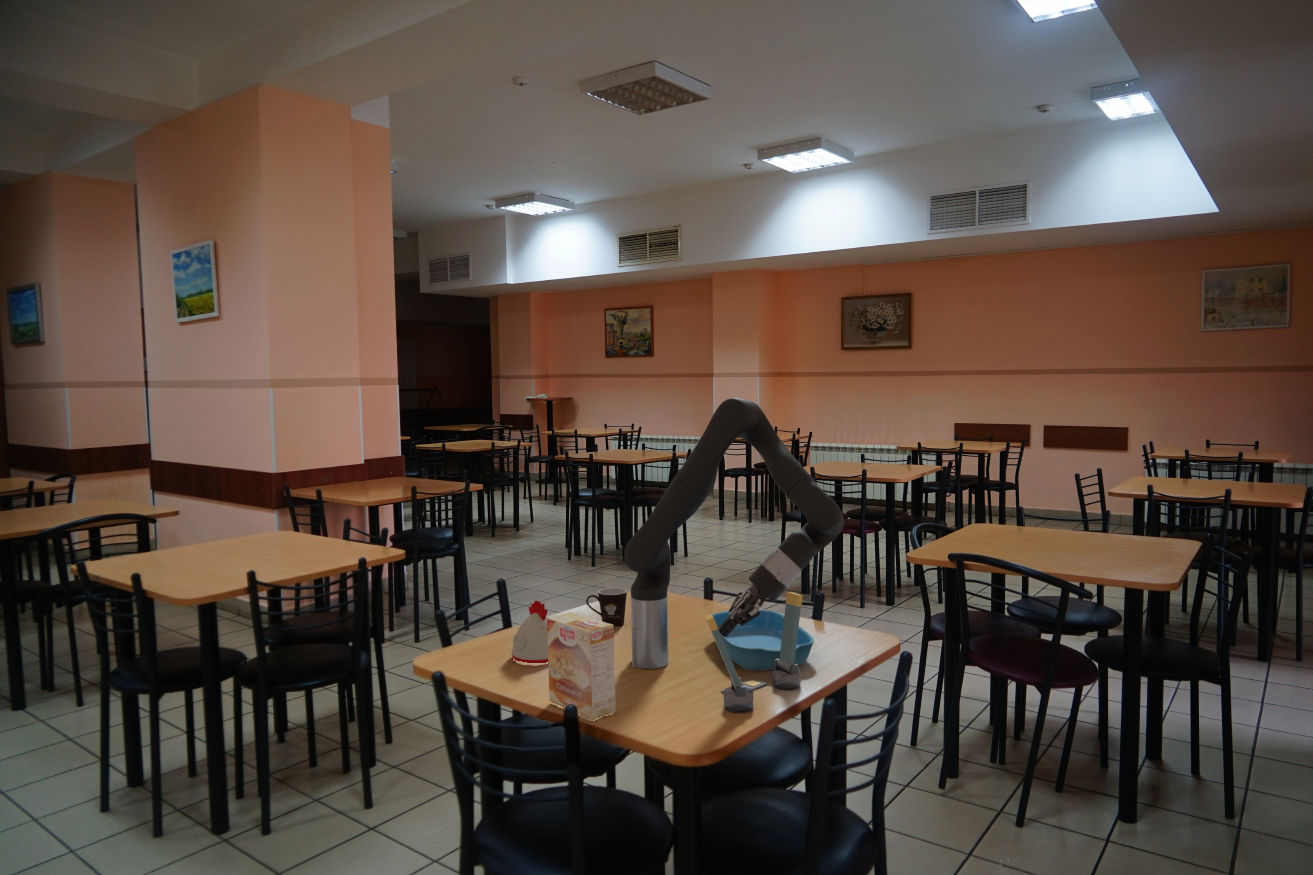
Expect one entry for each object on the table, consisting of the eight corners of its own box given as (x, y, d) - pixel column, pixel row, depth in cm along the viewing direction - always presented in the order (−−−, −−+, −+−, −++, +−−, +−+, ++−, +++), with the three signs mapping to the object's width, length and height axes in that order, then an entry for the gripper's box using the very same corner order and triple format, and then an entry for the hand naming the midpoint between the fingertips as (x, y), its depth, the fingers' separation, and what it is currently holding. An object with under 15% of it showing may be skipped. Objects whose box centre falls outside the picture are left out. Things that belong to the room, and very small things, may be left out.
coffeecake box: (548, 704, 176) (545, 617, 175) (573, 695, 181) (571, 611, 180) (591, 723, 165) (589, 630, 164) (617, 713, 170) (614, 623, 169)
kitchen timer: (529, 670, 199) (527, 611, 198) (502, 656, 209) (500, 600, 209) (575, 657, 208) (574, 601, 207) (547, 645, 218) (546, 591, 218)
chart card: (734, 697, 178) (734, 694, 178) (720, 691, 181) (720, 689, 181) (767, 684, 185) (767, 682, 185) (753, 679, 189) (753, 677, 189)
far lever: (783, 666, 187) (792, 591, 187) (794, 671, 183) (803, 595, 184) (776, 666, 186) (785, 591, 186) (788, 671, 182) (797, 595, 183)
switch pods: (740, 715, 168) (740, 689, 167) (717, 707, 172) (717, 682, 172) (806, 684, 185) (805, 661, 184) (783, 678, 189) (783, 655, 189)
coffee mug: (633, 622, 239) (632, 589, 238) (616, 629, 232) (616, 596, 231) (601, 617, 245) (601, 585, 245) (584, 624, 238) (584, 591, 237)
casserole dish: (827, 672, 194) (827, 643, 193) (739, 680, 189) (739, 651, 189) (773, 629, 230) (773, 605, 229) (699, 636, 225) (698, 611, 225)
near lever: (742, 684, 174) (711, 612, 173) (746, 691, 170) (714, 617, 169) (734, 688, 174) (703, 615, 173) (737, 694, 170) (706, 621, 169)
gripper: (755, 556, 178) (703, 614, 177) (770, 569, 165) (713, 631, 164) (779, 579, 179) (727, 636, 178) (795, 593, 166) (739, 654, 165)
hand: (720, 633), depth 171 cm, fingers closed
